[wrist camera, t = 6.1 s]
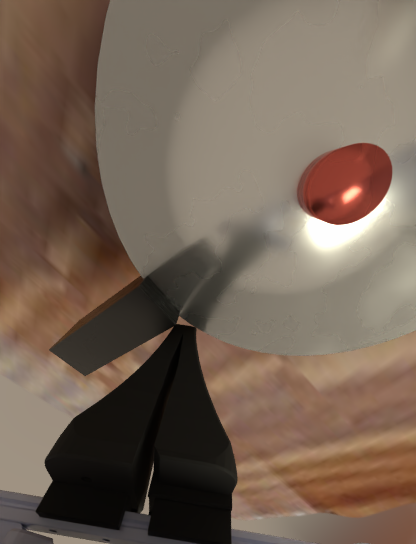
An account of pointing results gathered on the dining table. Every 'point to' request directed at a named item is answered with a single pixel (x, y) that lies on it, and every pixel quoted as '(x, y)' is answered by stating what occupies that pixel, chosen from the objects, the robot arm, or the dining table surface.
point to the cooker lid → (257, 174)
